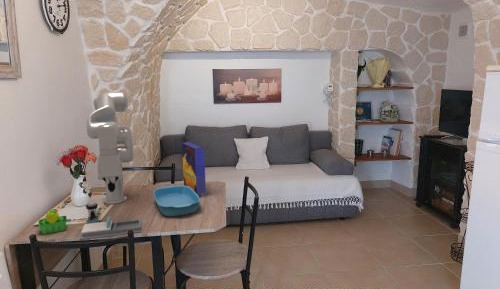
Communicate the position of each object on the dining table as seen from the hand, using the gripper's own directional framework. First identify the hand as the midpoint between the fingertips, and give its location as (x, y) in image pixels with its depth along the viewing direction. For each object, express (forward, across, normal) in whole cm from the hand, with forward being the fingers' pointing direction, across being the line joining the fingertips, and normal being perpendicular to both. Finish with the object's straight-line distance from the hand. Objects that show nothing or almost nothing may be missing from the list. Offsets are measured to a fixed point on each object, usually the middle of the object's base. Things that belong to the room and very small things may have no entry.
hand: (111, 191), depth 159 cm
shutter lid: (+17, +7, 0) cm, 18 cm away
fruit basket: (+19, +28, -7) cm, 34 cm away
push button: (+19, +11, -13) cm, 25 cm away
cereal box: (+19, -42, -45) cm, 65 cm away
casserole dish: (+19, -30, -23) cm, 42 cm away
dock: (+19, +1, 0) cm, 19 cm away
